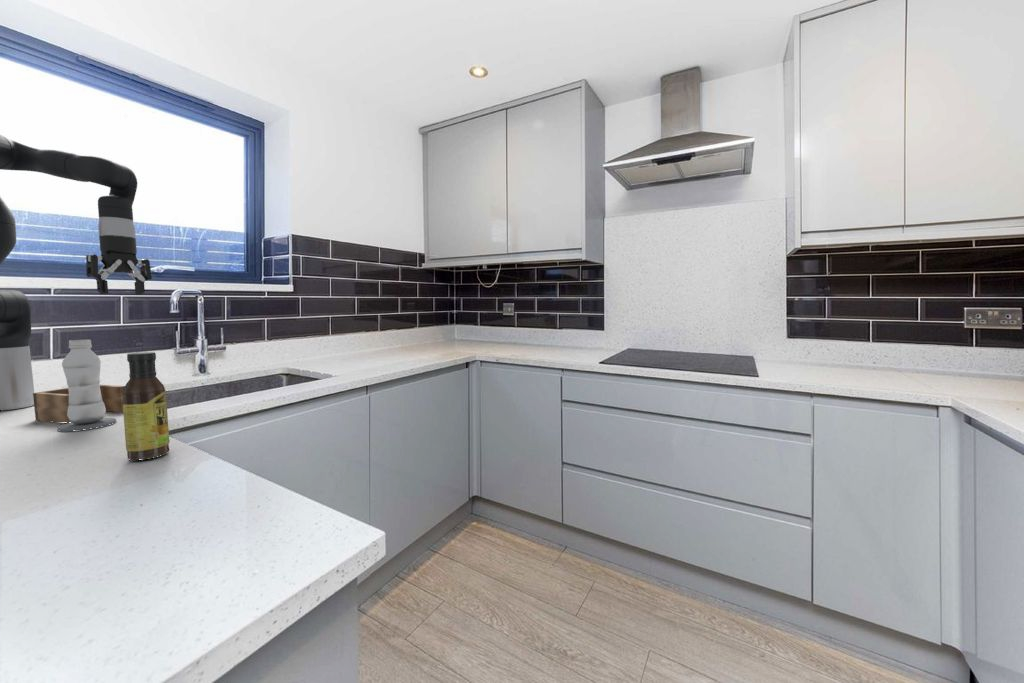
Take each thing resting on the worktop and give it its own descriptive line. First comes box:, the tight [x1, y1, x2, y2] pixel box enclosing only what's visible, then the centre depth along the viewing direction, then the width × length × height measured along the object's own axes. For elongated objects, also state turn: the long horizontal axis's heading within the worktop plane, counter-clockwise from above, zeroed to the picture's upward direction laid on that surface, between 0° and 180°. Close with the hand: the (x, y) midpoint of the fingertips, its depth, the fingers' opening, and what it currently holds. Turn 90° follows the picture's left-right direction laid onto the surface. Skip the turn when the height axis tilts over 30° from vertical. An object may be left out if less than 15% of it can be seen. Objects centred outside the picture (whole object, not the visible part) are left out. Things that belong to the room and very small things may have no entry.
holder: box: [33, 384, 125, 423], centre depth 111 cm, size 12×12×7 cm
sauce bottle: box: [123, 351, 170, 461], centre depth 80 cm, size 6×6×20 cm
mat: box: [57, 417, 117, 432], centre depth 102 cm, size 10×10×1 cm
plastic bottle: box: [61, 339, 107, 424], centre depth 101 cm, size 6×7×20 cm
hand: (122, 294), depth 120 cm, fingers open, 8 cm apart
